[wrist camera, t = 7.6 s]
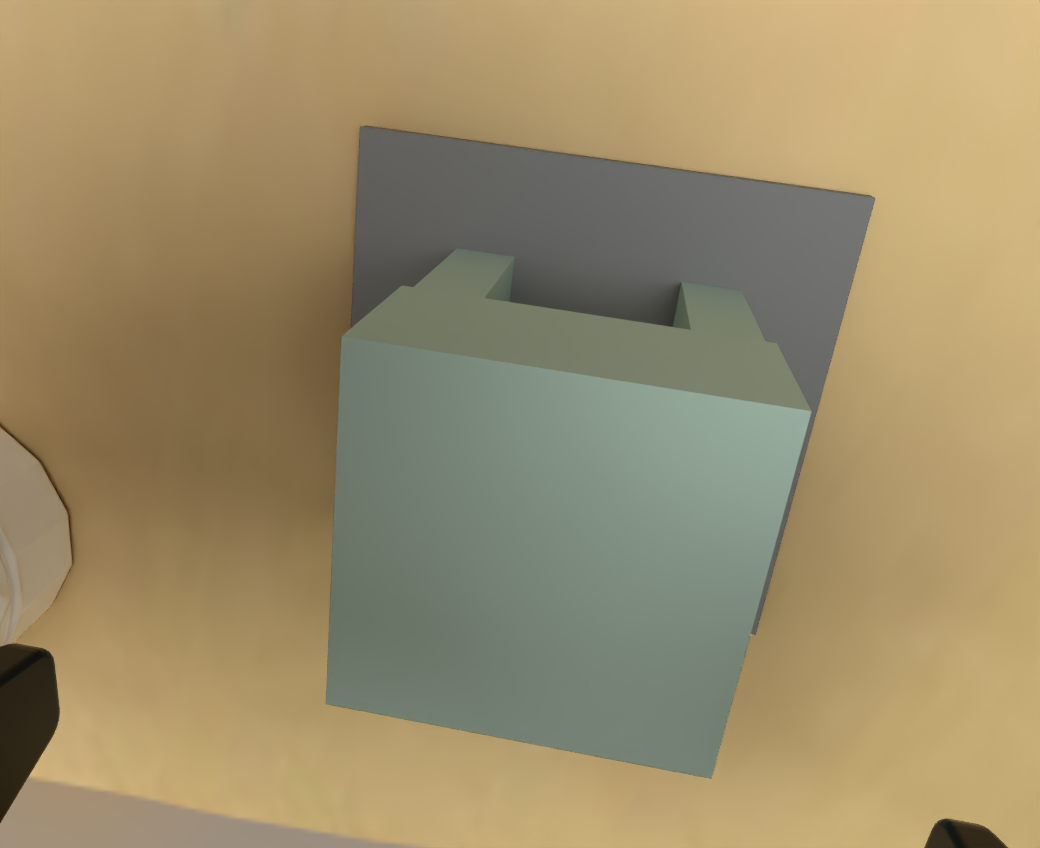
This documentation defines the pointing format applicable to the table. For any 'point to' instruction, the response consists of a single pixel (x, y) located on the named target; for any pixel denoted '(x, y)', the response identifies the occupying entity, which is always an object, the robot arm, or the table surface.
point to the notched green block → (556, 514)
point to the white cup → (28, 540)
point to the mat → (612, 240)
